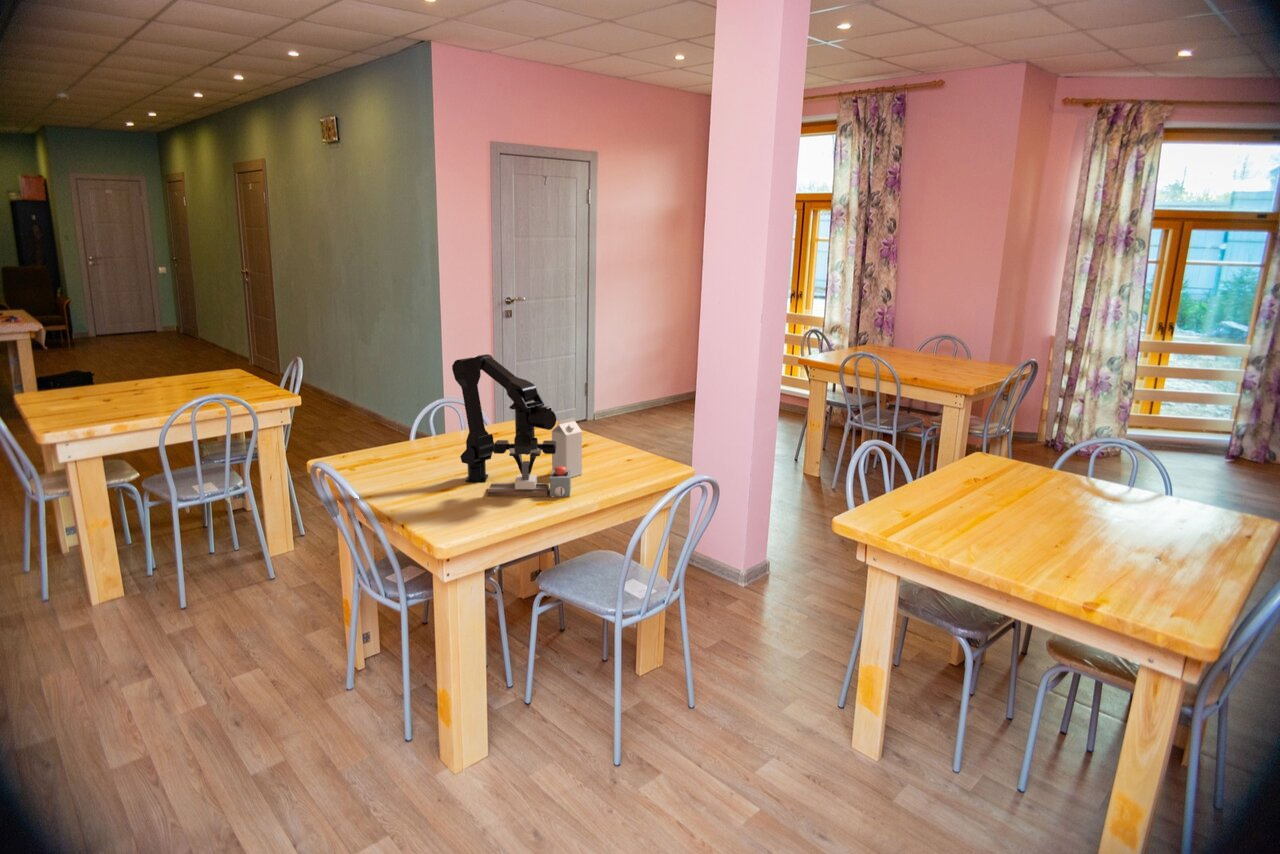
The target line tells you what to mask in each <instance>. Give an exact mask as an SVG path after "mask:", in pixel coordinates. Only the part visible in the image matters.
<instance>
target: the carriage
mask: <svg viewBox="0 0 1280 854" xmlns="http://www.w3.org/2000/svg"><path fill="white" fill-rule="evenodd" d="M529 463H530V460H522V474H517V475H516V478H515V480H514V483H515V489H535V487H536V484H537V483H538V475H537V474H531V473H530V474H529Z"/></svg>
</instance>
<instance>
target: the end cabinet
mask: <svg viewBox="0 0 1280 854" xmlns="http://www.w3.org/2000/svg"><path fill="white" fill-rule="evenodd" d="M571 491H572V477H571V470H566V475H564V476H557V475H555V470H552V469H551V471H550V475H549V497H550V496H553V498H554V497H559V498H561V497H564V498H565V497H566V498H569V497H571Z"/></svg>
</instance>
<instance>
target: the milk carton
mask: <svg viewBox="0 0 1280 854" xmlns="http://www.w3.org/2000/svg"><path fill="white" fill-rule="evenodd" d="M557 423H558V424H556V425H555V426H554V427H553V428H552V429H551V441H555V442H556V444H557V449H556V453H555V454H551V467H552V469H551V471H552V470H555V467H557V466H565V467H566V470H571V478H574V477H577V476H582V475H583V431H582V429H581V427H580V426H579V425H578V423H577V422H576V417H572V418H568V419H567V418H566V419H562V420H558V422H557Z"/></svg>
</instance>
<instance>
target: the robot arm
mask: <svg viewBox="0 0 1280 854" xmlns="http://www.w3.org/2000/svg"><path fill="white" fill-rule="evenodd" d="M451 367H452V373H453V377H454V380H455V381H456V382H457V384H458V385H459V386H460V388H461V392H462V398H463V404H464V409H465V414H466V421H467V425H468V435H467V437H466V439H465V440H466V441H465V445H466V449H465V450H464V451H463V452H462V453H461V455H460V460H461V461H460V462H461V463H462V464H465V465H467V477H466V478H465V480H464V481H465V482H466V483H467V482H470V483H471V482H472V483H474V482H476V483H477V482H478V483H480V482H484V483H485V482H487V480H488V478H489V474H487V470H486V468H487V467H486V461H488V460H491V459H492V456H493V454H499V455H500V454H504V453H506V452H507V450H509V457H513V459H514V460H515V462H516V464H517V467H518V470H519V471H520V475H522V462H523V459H522V457H523V456H522V455H526V456H528V455H529V461H530V463H529V474H530V475H531V472H532V469H533V466H534V463H535V461H536V459H537V457H540V456H541V454H542V452H543V454H545V455H552V454H555V453H556V449H557V444H556V442H555V441H552V440H543V442H542V443H539V442H538V438H537V437H535V428H538V429H542V430H547V431H552V430H553V429H554V428H555V427H556V425H557V423H556V422H557V416H556V413H555V412H554V411H553V410H552V406H550V405H549V406H548V405H547V406H545V403H544V401H543V398H542V397H541V395H540V393H539V392H538V390H537V388H538V387H537V386H536V385H535V384H534V383H532V382H530V381H529V380H527V379H523V378H520V377H518V376H516V375H514V374H513V373H512V372H511V371H510V370H508V369H507V368H505V366H503V365H502V364H501V363H500V362H498V361H496V360H495V359H494V357H493V356H492V355H491V354H489V353H486V354H479V355H477V356H474V357H466V358H459V359H456V360H455V361H454V362H453V364H452V366H451ZM481 371H482V372H484V373H485V374H487V375H488V376H489V377H491V379H493V380H494V381H495V382H496V383H498V385H500V386H502V388H504V389H505V391H506V395H507V396H508V397H509V398H510V400H511V401H512V402H513V403H512V404H511V405H510V406H509V407H508V409H510V410H514V417H515V418H514V419H515V420H514V422H515V423H514V424H515V426H514V427H515V436H514V440H513V441H514V442H513V443H510V442H509V440H508V439H505V440H504V439H498V440H496V441H494V435H493V434H492V433H489V432H488V430H486V427H485V422H484V416H483V410H482V404H481V399H480V393H479V386H478V385H479V382H480V378H481V377H482V376H481V373H482V372H481Z"/></svg>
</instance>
